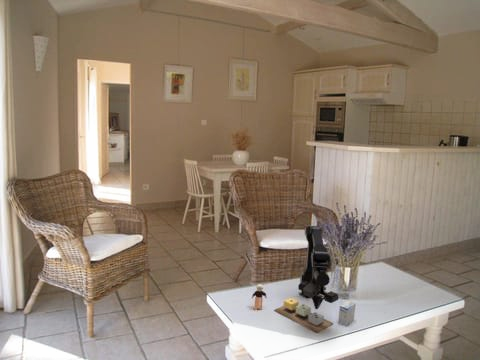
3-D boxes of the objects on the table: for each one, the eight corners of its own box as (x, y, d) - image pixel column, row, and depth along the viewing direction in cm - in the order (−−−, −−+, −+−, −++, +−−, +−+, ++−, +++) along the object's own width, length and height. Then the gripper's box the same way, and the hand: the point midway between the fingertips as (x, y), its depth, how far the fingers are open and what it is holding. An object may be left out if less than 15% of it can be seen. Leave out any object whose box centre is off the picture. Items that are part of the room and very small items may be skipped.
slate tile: (314, 317, 189) (315, 311, 189) (323, 322, 186) (323, 315, 185) (308, 321, 186) (308, 315, 186) (316, 325, 182) (317, 319, 182)
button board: (290, 303, 205) (290, 302, 205) (333, 324, 186) (333, 322, 186) (274, 310, 197) (274, 309, 197) (317, 333, 178) (317, 331, 178)
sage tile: (302, 309, 195) (302, 303, 194) (310, 313, 191) (310, 307, 190) (295, 312, 191) (295, 306, 191) (303, 316, 188) (304, 310, 187)
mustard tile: (290, 303, 200) (290, 297, 200) (298, 307, 196) (298, 301, 196) (283, 306, 197) (284, 300, 196) (291, 310, 193) (291, 304, 193)
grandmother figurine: (252, 311, 196) (253, 286, 194) (250, 307, 200) (251, 283, 198) (267, 309, 198) (268, 285, 196) (264, 305, 202) (266, 282, 200)
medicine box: (345, 317, 193) (346, 300, 192) (354, 320, 191) (355, 303, 189) (338, 323, 187) (339, 305, 186) (347, 326, 185) (348, 308, 183)
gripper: (291, 274, 184) (289, 306, 186) (325, 288, 170) (323, 322, 173) (306, 269, 191) (304, 299, 194) (340, 281, 178) (337, 314, 180)
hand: (316, 309), depth 185 cm, fingers closed
